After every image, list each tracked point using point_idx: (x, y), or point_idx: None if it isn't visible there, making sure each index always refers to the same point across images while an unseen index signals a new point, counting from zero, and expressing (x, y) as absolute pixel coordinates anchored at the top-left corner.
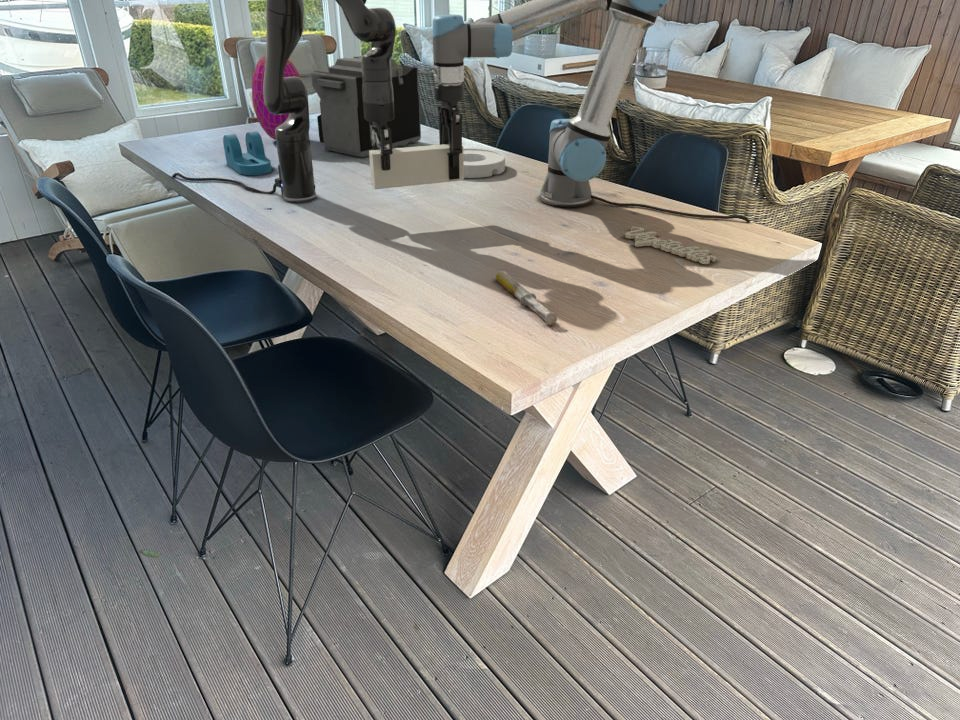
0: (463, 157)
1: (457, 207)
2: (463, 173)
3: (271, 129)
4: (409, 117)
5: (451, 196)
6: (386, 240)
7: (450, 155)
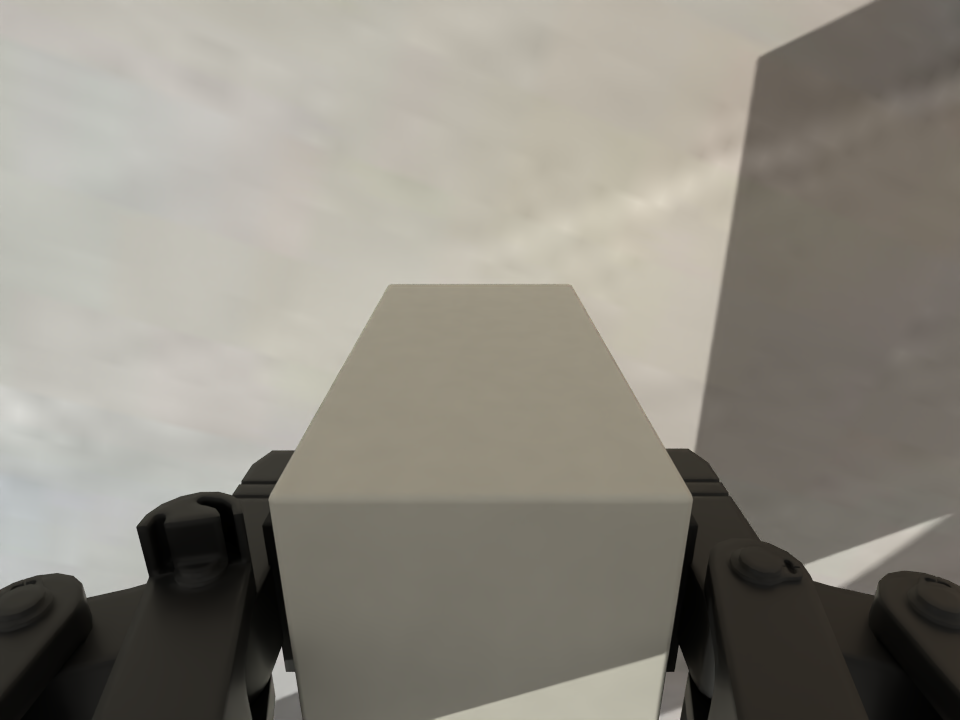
0: (628, 388)
1: (299, 191)
2: (583, 309)
3: None
4: None
5: (25, 149)
6: None
7: (673, 643)
